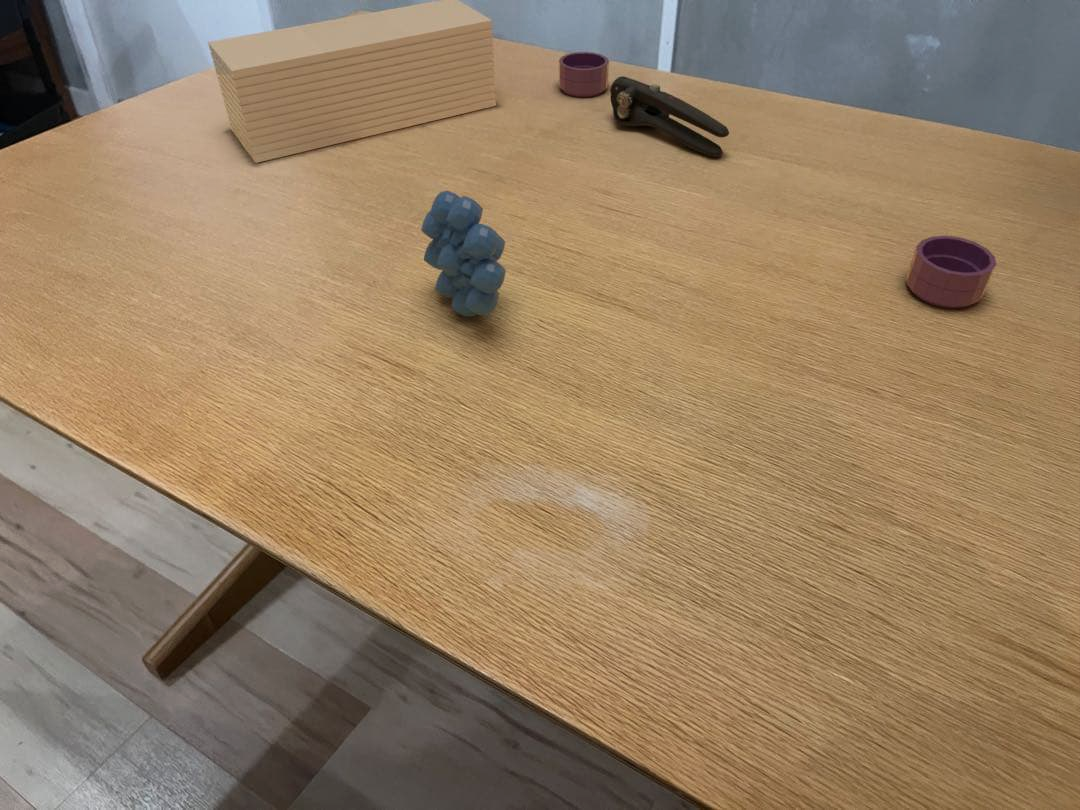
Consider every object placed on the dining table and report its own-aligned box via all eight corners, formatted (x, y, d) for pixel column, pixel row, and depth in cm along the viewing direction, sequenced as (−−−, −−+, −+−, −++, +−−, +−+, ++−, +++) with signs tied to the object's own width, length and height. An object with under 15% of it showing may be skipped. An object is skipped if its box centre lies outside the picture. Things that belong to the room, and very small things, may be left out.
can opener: (595, 121, 104) (596, 76, 101) (633, 106, 108) (636, 62, 104) (701, 169, 94) (708, 121, 90) (740, 151, 98) (748, 104, 94)
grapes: (543, 329, 72) (542, 206, 64) (476, 356, 69) (466, 231, 61) (475, 269, 79) (467, 151, 71) (413, 292, 76) (396, 172, 68)
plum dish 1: (603, 78, 115) (604, 50, 112) (611, 97, 110) (612, 68, 108) (556, 81, 114) (556, 53, 112) (562, 99, 110) (562, 70, 107)
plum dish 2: (959, 268, 78) (973, 233, 76) (994, 308, 74) (1010, 272, 71) (892, 273, 78) (904, 238, 75) (924, 313, 73) (937, 277, 71)
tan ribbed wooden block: (255, 163, 96) (231, 70, 89) (231, 130, 103) (207, 41, 96) (496, 106, 108) (492, 19, 101) (460, 80, 115) (454, -3, 108)
